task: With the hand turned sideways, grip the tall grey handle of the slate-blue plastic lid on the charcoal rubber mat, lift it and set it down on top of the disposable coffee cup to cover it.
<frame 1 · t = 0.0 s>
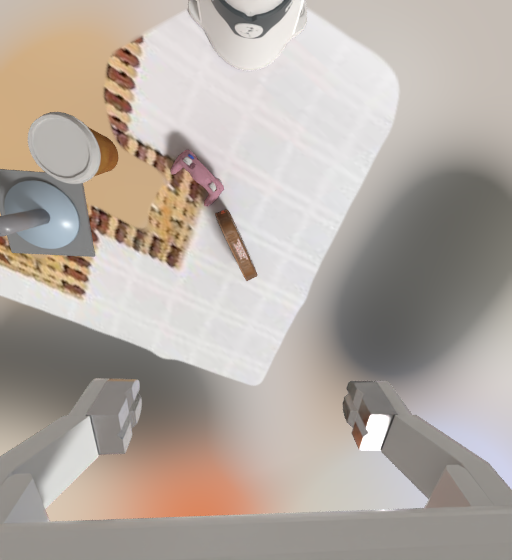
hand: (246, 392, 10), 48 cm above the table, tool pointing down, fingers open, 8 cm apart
video game controller: (199, 178, 52), on the table
lid: (44, 215, 52), resting on mat
mat: (46, 215, 52), on the table
tin: (237, 240, 57), on the table
disposable coffee cup: (101, 153, 49), on the table
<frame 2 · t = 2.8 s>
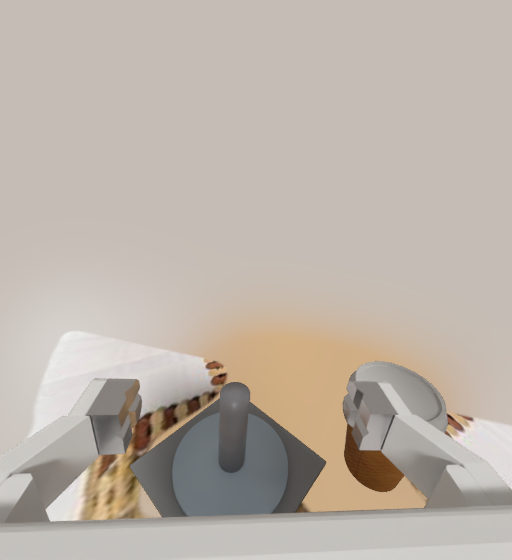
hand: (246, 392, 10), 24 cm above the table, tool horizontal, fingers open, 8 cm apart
lid: (231, 463, 31), resting on mat
mat: (231, 466, 31), on the table
disposable coffee cup: (370, 464, 32), on the table
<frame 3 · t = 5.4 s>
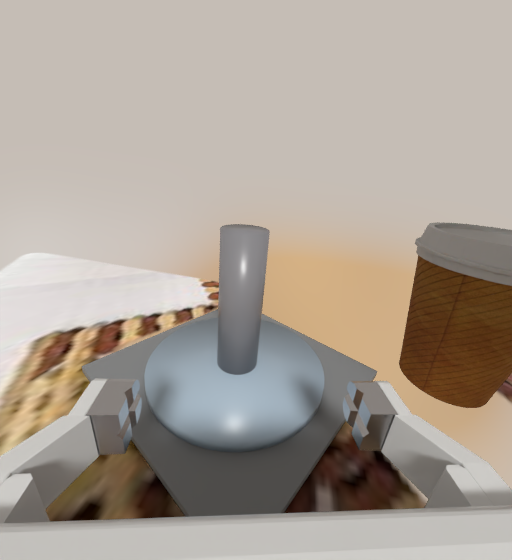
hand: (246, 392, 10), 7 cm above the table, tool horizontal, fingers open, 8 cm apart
lid: (236, 369, 20), resting on mat
mat: (236, 374, 21), on the table
disposable coffee cup: (439, 379, 22), on the table
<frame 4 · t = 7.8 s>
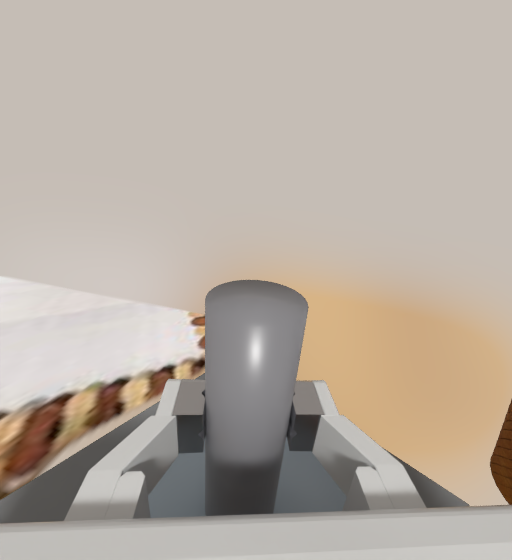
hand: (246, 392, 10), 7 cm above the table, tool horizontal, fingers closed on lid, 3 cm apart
lid: (238, 513, 12), resting on mat, touching gripper
mat: (237, 519, 12), on the table
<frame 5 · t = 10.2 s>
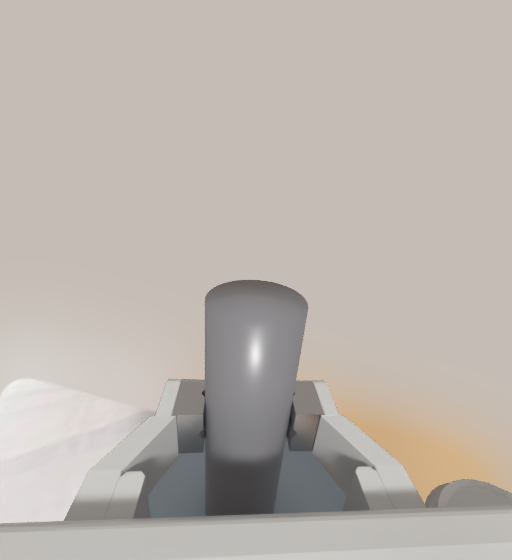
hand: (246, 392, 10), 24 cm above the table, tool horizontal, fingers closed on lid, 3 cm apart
lid: (238, 513, 12), point 17 cm above the table, touching gripper
when the fingers open (20 cm above the table, at t = 12.8 s): lid drops 1 cm, resting on disposable coffee cup.
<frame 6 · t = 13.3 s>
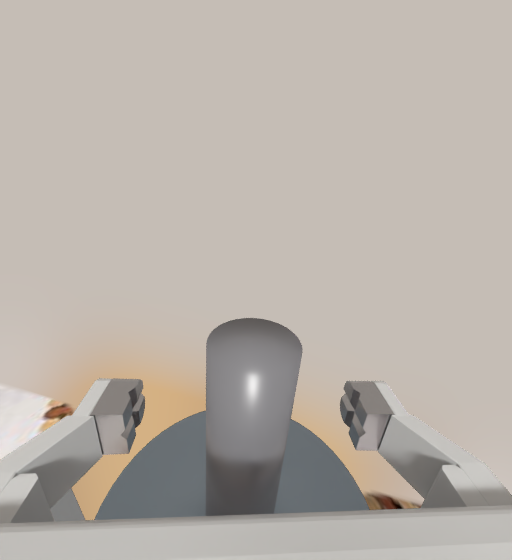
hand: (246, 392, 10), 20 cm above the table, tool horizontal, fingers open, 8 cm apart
lid: (237, 532, 13), point 12 cm above the table, touching disposable coffee cup
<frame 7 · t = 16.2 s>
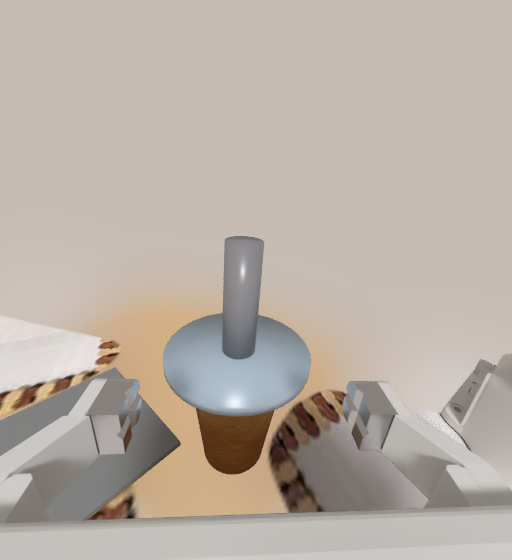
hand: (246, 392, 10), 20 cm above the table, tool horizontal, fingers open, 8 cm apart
lid: (238, 355, 24), point 12 cm above the table, touching disposable coffee cup
mat: (69, 446, 27), on the table
disposable coffee cup: (233, 445, 29), on the table, touching lid
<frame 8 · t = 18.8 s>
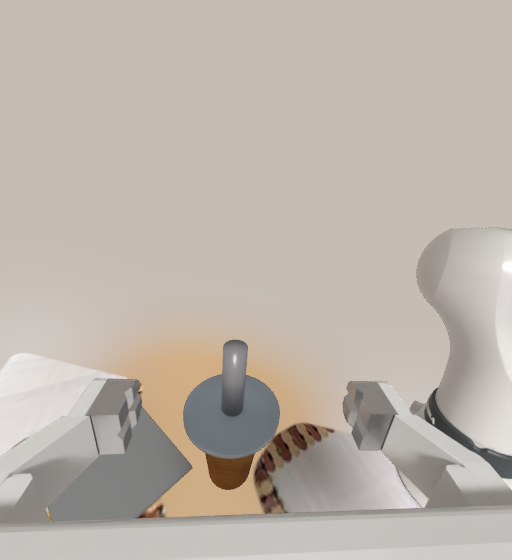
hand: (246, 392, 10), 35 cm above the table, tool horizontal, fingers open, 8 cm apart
lid: (232, 411, 37), point 12 cm above the table, touching disposable coffee cup
mat: (115, 469, 40), on the table
disposable coffee cup: (229, 468, 41), on the table, touching lid
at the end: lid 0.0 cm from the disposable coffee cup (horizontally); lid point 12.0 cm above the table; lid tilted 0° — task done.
